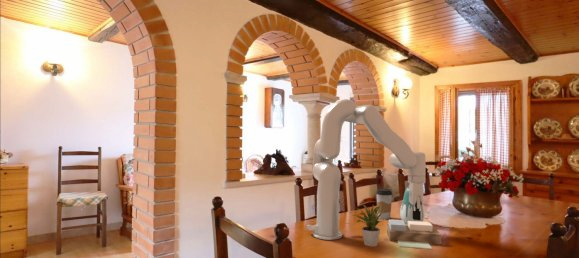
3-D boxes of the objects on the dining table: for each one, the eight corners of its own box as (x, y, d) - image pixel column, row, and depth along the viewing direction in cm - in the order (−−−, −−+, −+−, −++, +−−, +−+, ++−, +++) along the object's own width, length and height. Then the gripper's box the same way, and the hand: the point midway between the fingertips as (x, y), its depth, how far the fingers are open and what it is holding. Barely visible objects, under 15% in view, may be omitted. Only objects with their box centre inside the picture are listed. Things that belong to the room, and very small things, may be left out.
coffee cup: (393, 217, 185) (394, 189, 185) (389, 220, 178) (389, 191, 178) (378, 215, 189) (379, 187, 189) (373, 218, 182) (374, 189, 182)
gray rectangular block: (405, 231, 144) (405, 225, 144) (390, 230, 145) (391, 224, 145) (402, 225, 152) (402, 220, 152) (388, 224, 154) (388, 219, 154)
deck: (389, 241, 143) (390, 231, 143) (387, 232, 155) (387, 224, 155) (441, 244, 140) (441, 234, 140) (434, 236, 151) (434, 227, 151)
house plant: (363, 236, 150) (364, 198, 150) (394, 242, 141) (394, 202, 141) (346, 243, 139) (347, 203, 139) (379, 251, 130) (379, 208, 130)
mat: (399, 246, 136) (399, 245, 136) (397, 241, 143) (397, 240, 143) (431, 249, 134) (431, 248, 134) (428, 243, 140) (428, 242, 140)
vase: (420, 227, 165) (420, 190, 165) (396, 223, 172) (396, 187, 172) (427, 223, 174) (427, 187, 174) (404, 219, 181) (404, 185, 181)
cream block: (409, 230, 146) (410, 224, 146) (407, 226, 152) (407, 220, 152) (432, 231, 144) (432, 225, 144) (429, 227, 150) (429, 222, 150)
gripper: (405, 176, 165) (405, 215, 165) (410, 181, 150) (410, 223, 150) (422, 177, 164) (422, 216, 163) (428, 181, 149) (428, 224, 149)
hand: (416, 219), depth 157 cm, fingers closed
